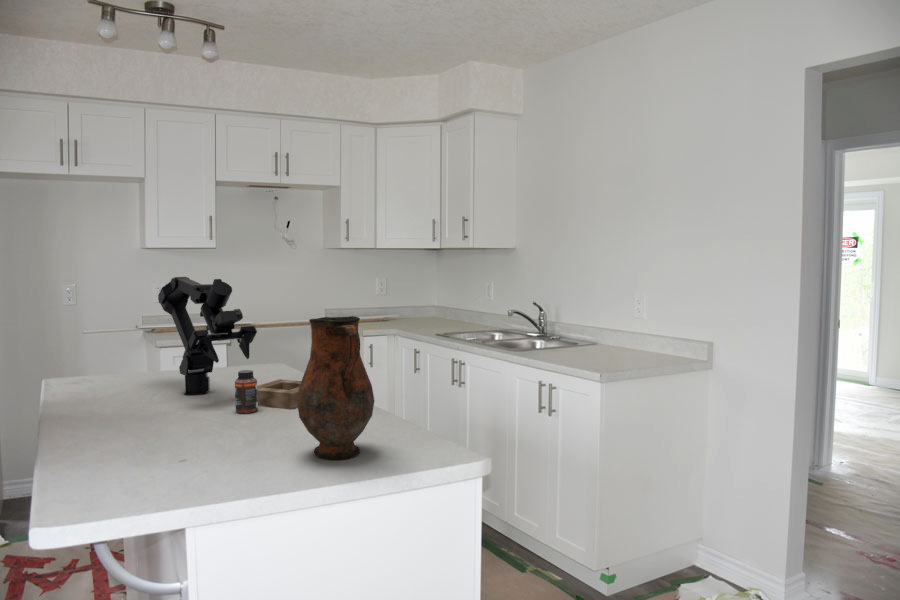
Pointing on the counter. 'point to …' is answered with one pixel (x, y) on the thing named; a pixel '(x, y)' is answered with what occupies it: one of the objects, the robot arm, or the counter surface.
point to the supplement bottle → (246, 392)
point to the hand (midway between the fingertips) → (233, 359)
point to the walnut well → (279, 394)
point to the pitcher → (335, 388)
